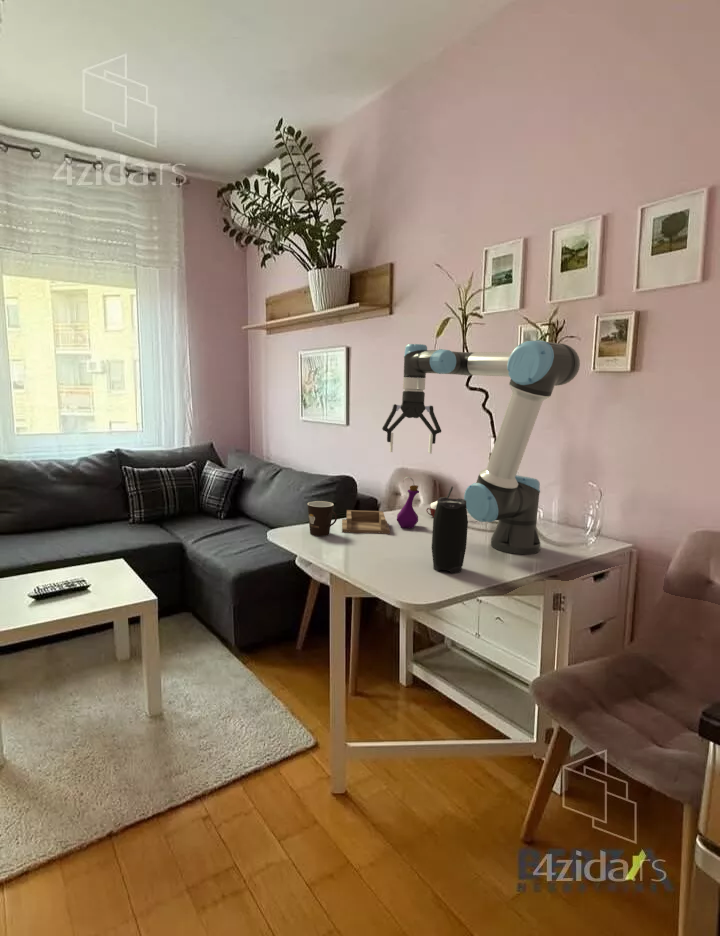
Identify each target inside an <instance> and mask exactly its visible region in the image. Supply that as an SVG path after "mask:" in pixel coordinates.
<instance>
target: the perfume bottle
mask: <svg viewBox="0 0 720 936" xmlns="http://www.w3.org/2000/svg"><path fill="white" fill-rule="evenodd" d="M406 479H410V480H411V481H412V483H413V485H410V486H409V489H407V493H408V497H407V499H406V502H405V503H404V505H403V507H402V508H401V509H400V511H399V512H398V513H397V515H396V521H397V523H398V525H399V526H400V528H401V529H414V527H415V526H416V525H417V524H418V522H419V515H418V513H416V511H415V509H414V508H413V502H414V499H415V496H416V495H417V494H418V493H420V491H419V490H418V488H419V485H415V481H414V479H413V478H412V477H410V476H405V477H404V479H403V481H402V482H403V483H404V481H405V480H406Z"/></svg>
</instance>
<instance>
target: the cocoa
mask: <svg viewBox="0 0 720 936" xmlns="http://www.w3.org/2000/svg"><path fill="white" fill-rule="evenodd" d="M453 489H454V487H453V486H451V487H450V489H449V491H448V494H447V496H446V498H448V499H450V495H451V494H452V491H453ZM437 503H438V500H436V501H434V502H431V503H430V507H428V508H426V509H425V510H426V513H427V514H428V515H429V516H431V517H433V518H434V514H435V510H436V506H437ZM428 510H429V511H430V512H429V511H428Z"/></svg>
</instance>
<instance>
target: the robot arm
mask: <svg viewBox="0 0 720 936" xmlns="http://www.w3.org/2000/svg"><path fill="white" fill-rule="evenodd" d="M403 358H404V359H403V361H404V362H403V381H402V382H403V384H402V390H403V391H402V399H401V401H402V402H401V404H395V403H393V404H392V409H391V411H390V413H389V415H388V417H387V419H386V420H385V422H384V424H383V426H382V428H381V429H382V431H383V432H385V433H386V434H387V435H386V441H387V443H389V452H390V453H393V450H394V449H393V448H394V447H393V444H394V433H393V431H394V430H395V429H396V428H397V426H398V425H399V424H400V423H401V422H402V421H403V420H404V419H405V418H407V419H411V418H413V419H419V418H420V420H421V421H422V422H423V424H424V425H425V427H427V429H428V430H429V431H430V433H429V436H428V449H427V450H428V451H427V453H428V454H430V455H431V454H432V455H433V445H434V444H436V438H437V437H436V436H437V434H441V433H442V429H441V427H440V424H439V422H438V420H437V417H436V415H435V412H434V406H433V405H431V404H430V405H425V397H426V396H425V394H426V393H425V390H426V379H427V378H426V377H427V376H426V375H427V374H439V375H458V376H459V375H460V376H467V377H468V376H470V377H471V376H484V377H485V376H486V377H508V378H510V379H509V380H510V381H509V383H508V385H509V388H510V389H511V395H510V398H509V401H508V403H507V406H506V410H505V412H504V416H503V418H502V422H501V424H500V427H499V431H498V434H497V436H496V439H495V442H494V445H493V448H492V452H491V454H490V457H489V460H488V463H487V467H486V468H484V469H481V470H480V471H479V473H478V475H477V480H476V482H473V483H471V484H470V485H468V486H467V488H466V489H465V492H464V496H463V499H464V500H466V507H467V514H469V515H470V517H471V518H472V519H474V520H475V521H477V522H481V523H486V522H487V523H492V522H494V521H497V524H496V527H495V529H494V531H493V533H492V536H491V539H490V545H491V547H492V548H493V549H496V550H497V551H500V552H504V553H508V554H515V555H532V554H537V553H539V552H541V544H542V543H541V540H540V535H539V531H538V528H537V527H538V526H537V523H538V513H539V512H538V511H539V502H540V500H539V499H540V493H541V490H540V486H541V485H540V481H539V480H538V479H537V478H534V477H530V476H524V475H518V470H519V468H520V465H521V463H522V460H523V457H524V454H525V452H526V449H527V446H528V443H529V440H530V439H531V438H530V437H531V435H532V432H533V430H534V426H535V424H536V421H537V418H538V416H539V412H540V410H541V407H542V404H543V402H544V401H545V400H547V399H550V398H551V397H552V394H553V391H554V388H555V386H558V387H559V386H563V385H566V384H568V383H570V382H571V381H572V380H574V379H575V378H576V377H577V374H578V372H579V370H580V367H581V360H580V356H579V354H578V352H577V351H576V349H574V348H573V347H572V346H570V345H568V344H566V343H558V342H552V341H544V340H539V339H538V340H527V341H524V342H522V343H520V344H518V345H517V346H515V348H514V349H513V350H512V351H509V352H508V351H506V352H505V351H502V352H501V351H500V352H499V351H498V352H497V351H496V352H495V351H493V352H491V351H490V352H485V351H484V352H482V351H481V352H475V351H474V352H471V351H469V352H468V351H466V352H464V351H463V352H462V351H452V350H450V349H440V348H439V349H431V350H428V346H427V345H426V344H421V343H419V344H418V343H414V344H413V343H410V344H409V343H408V344H407V345H405V349H404V355H403ZM399 410H401V411H402V413H401V414H400V415H399V416H398V417H397V419H396V420H395V421H394V422H393V423H392V424H391V422H392V420H393V419H394V417H395V415H396V413H397V412H398V411H399ZM425 411H426V412H427V413H429V416H430V418H431V421H432V423H433V426H434V427H433V426H432V424H430V422H429V421H428V419H427V418H426V416H425V415H424V412H425ZM390 424H391V425H390ZM389 425H390V426H389ZM388 427H389V428H388Z"/></svg>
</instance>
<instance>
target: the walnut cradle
mask: <svg viewBox="0 0 720 936" xmlns="http://www.w3.org/2000/svg"><path fill="white" fill-rule="evenodd" d="M385 516H386V515H385V513H384V511H382V510H356V509H355V510H352V509H346V518H345V519H344V518H342V521H341V524H342V525H341V531H342V532H341V533H352V534H353V533H354V534H355V533H357V534H386V535H387V534H389V535H390V531H391V529H390V527H389V524H388V521H387V520H386V517H385Z"/></svg>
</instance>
